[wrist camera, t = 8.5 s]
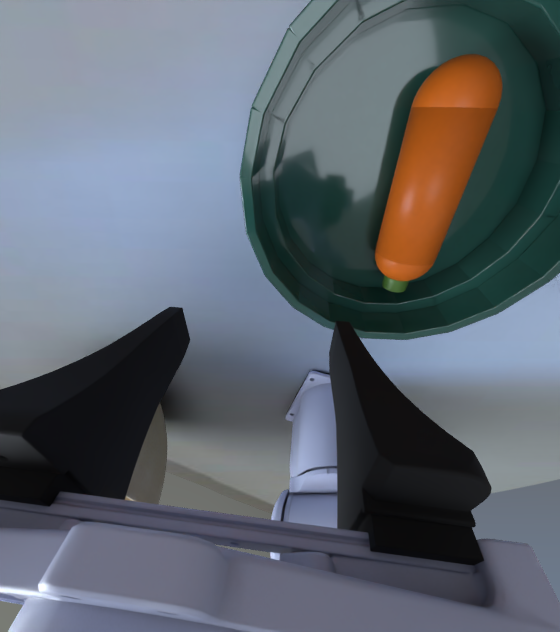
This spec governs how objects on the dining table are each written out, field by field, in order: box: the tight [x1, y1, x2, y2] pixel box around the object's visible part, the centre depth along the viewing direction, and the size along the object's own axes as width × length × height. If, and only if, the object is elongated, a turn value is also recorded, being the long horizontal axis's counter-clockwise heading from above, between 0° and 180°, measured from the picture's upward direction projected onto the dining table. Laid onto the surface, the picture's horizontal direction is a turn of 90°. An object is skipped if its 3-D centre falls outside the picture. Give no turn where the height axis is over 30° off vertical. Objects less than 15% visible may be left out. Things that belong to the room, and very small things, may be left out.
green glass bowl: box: [240, 0, 560, 340], centre depth 15 cm, size 17×17×5 cm
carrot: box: [375, 54, 502, 293], centre depth 15 cm, size 12×4×4 cm, turn 179°
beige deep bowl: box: [125, 403, 167, 504], centre depth 29 cm, size 18×18×12 cm
